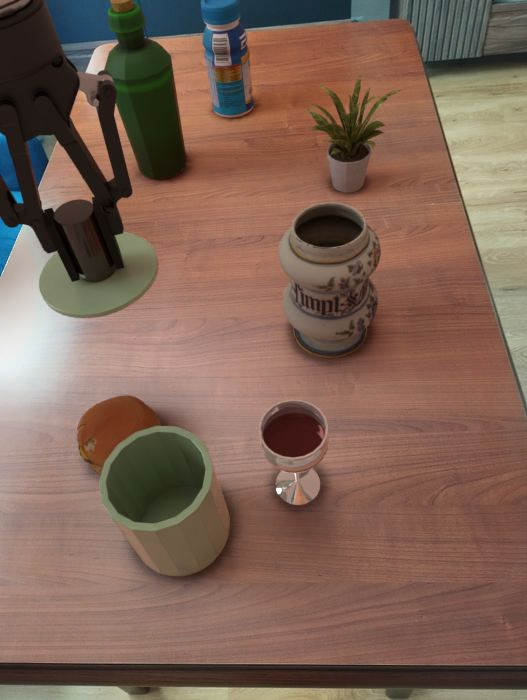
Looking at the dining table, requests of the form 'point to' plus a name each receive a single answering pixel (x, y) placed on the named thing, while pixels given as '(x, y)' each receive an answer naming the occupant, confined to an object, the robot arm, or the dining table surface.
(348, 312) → the apothecary jar
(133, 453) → the canister
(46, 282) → the lid
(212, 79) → the beverage bottle
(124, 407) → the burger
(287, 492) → the wineglass
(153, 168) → the bottle
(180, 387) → the dining table surface
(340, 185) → the house plant
